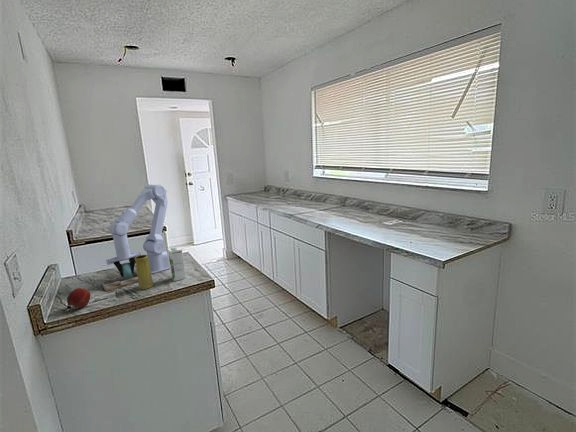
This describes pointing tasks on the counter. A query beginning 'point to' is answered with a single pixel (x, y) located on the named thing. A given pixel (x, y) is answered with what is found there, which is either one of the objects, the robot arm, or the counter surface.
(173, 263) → the syrup box
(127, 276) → the peg
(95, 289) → the counter surface
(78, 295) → the apple
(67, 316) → the counter surface
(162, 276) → the counter surface
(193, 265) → the counter surface
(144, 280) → the vase
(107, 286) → the brown tray
